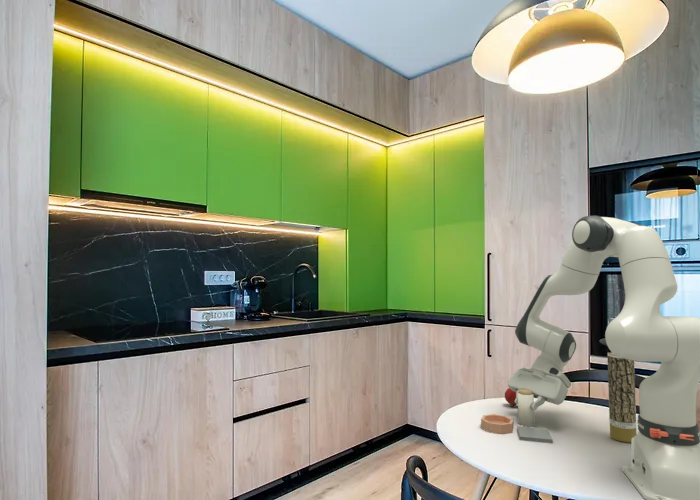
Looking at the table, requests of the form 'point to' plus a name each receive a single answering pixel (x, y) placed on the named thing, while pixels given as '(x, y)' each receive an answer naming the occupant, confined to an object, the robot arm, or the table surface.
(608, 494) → the table surface
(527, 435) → the slate coaster
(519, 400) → the spice jar
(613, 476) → the table surface
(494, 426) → the terracotta dish
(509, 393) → the onion
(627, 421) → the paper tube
